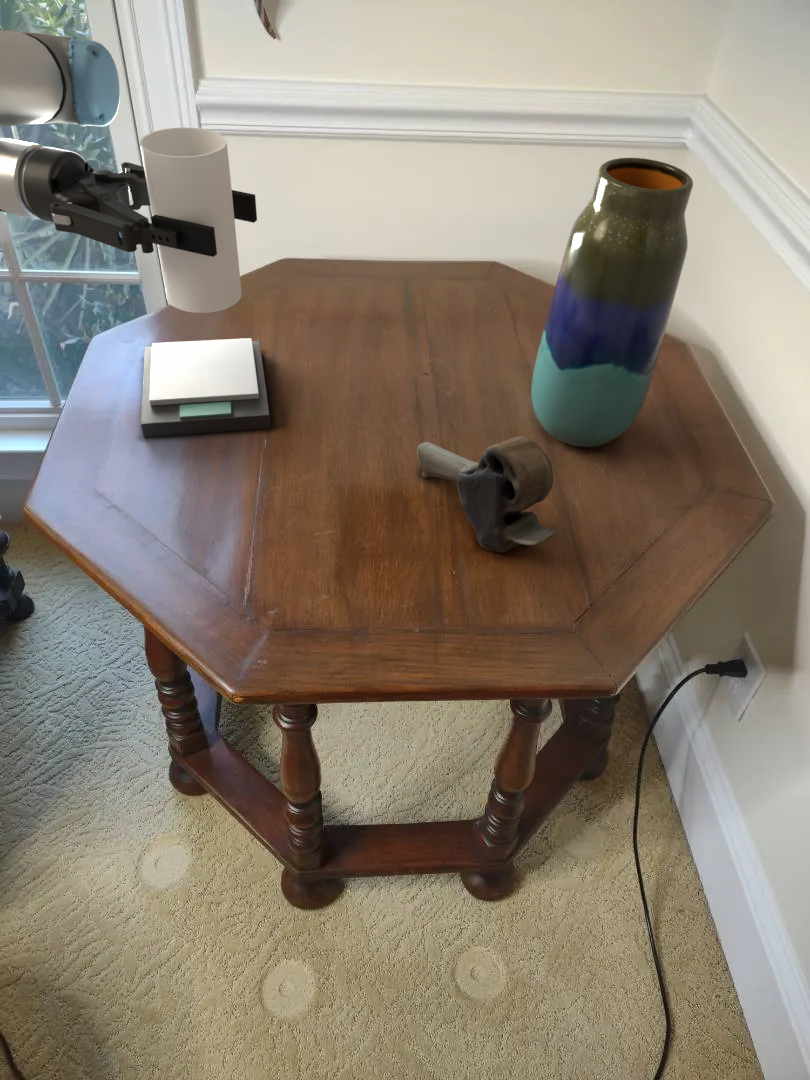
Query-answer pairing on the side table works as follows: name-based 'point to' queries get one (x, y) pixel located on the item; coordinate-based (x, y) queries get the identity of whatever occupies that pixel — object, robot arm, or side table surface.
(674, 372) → the side table surface
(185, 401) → the scale
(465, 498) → the grey two-tone handled device
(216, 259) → the cup
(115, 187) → the robot arm
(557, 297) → the vase
